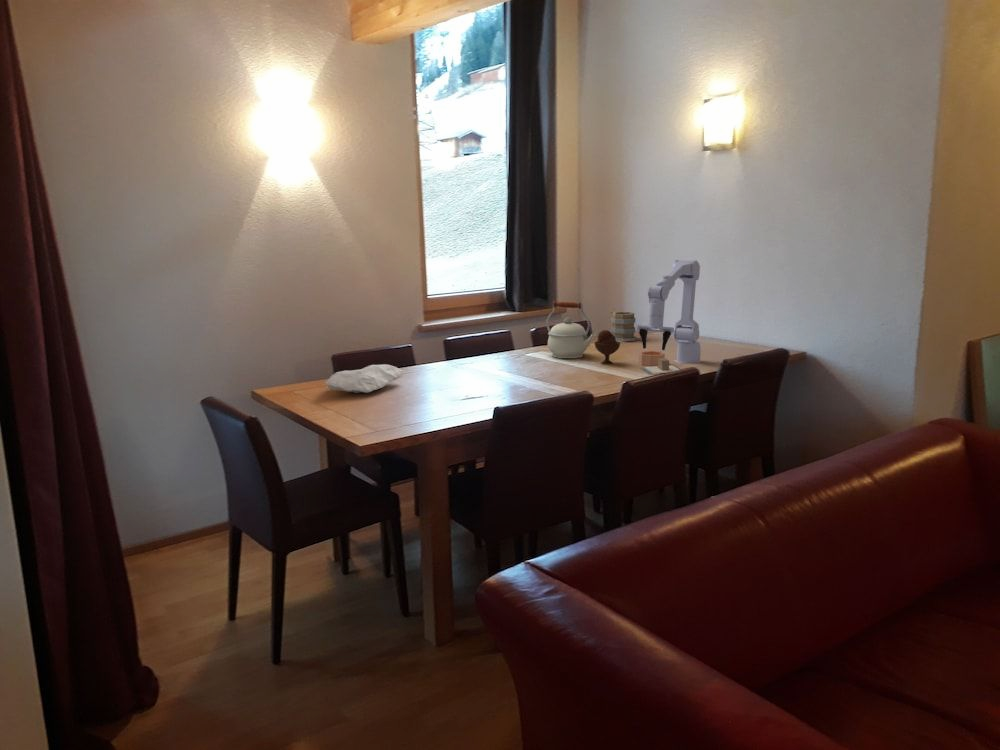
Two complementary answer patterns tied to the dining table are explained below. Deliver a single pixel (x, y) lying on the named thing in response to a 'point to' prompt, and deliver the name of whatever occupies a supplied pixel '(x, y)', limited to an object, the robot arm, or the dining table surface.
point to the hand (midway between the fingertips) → (653, 349)
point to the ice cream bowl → (606, 345)
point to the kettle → (568, 335)
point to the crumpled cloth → (364, 378)
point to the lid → (661, 367)
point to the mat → (649, 371)
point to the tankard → (623, 326)
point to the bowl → (650, 358)
